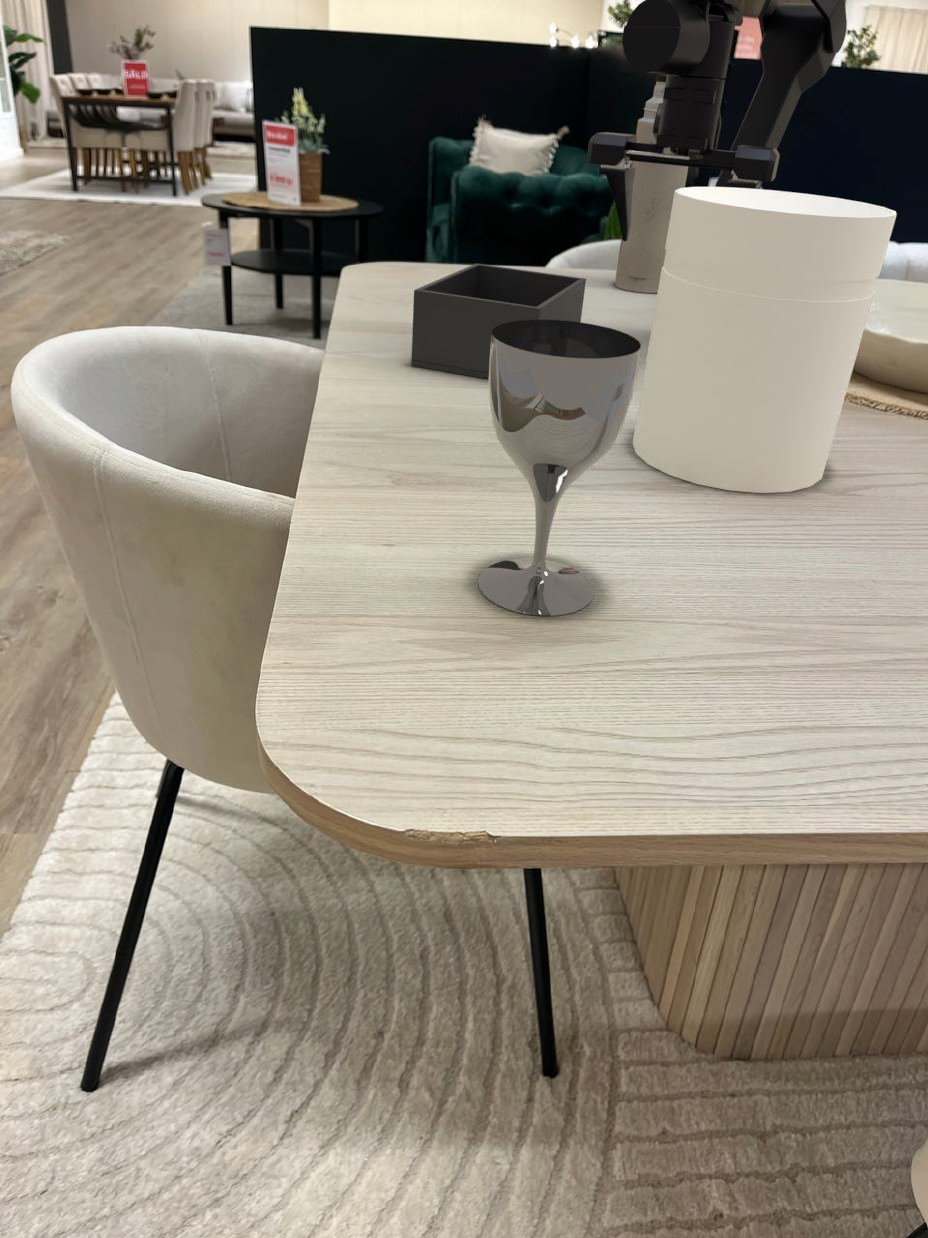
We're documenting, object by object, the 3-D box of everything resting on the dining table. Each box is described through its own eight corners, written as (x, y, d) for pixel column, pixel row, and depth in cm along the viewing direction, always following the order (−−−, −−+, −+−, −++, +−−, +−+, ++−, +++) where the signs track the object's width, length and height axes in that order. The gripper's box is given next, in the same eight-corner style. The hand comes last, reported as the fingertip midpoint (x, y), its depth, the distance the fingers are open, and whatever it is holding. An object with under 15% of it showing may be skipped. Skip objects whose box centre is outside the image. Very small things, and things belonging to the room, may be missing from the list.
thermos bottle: (605, 286, 140) (634, 71, 125) (629, 279, 146) (660, 73, 131) (653, 295, 136) (689, 75, 122) (675, 288, 142) (712, 77, 127)
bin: (471, 329, 111) (475, 263, 107) (577, 346, 107) (586, 278, 103) (411, 365, 96) (413, 289, 92) (532, 386, 92) (540, 308, 89)
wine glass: (466, 554, 59) (483, 316, 52) (587, 557, 60) (622, 322, 53) (478, 618, 53) (500, 354, 45) (614, 620, 54) (658, 361, 46)
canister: (800, 510, 70) (879, 224, 59) (603, 460, 76) (644, 194, 66) (840, 451, 82) (910, 206, 72) (667, 412, 88) (710, 182, 78)
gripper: (798, 85, 95) (762, 247, 103) (620, 72, 100) (599, 227, 108) (791, 84, 86) (753, 261, 94) (596, 69, 91) (575, 239, 99)
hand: (667, 246), depth 99 cm, fingers open, 9 cm apart
